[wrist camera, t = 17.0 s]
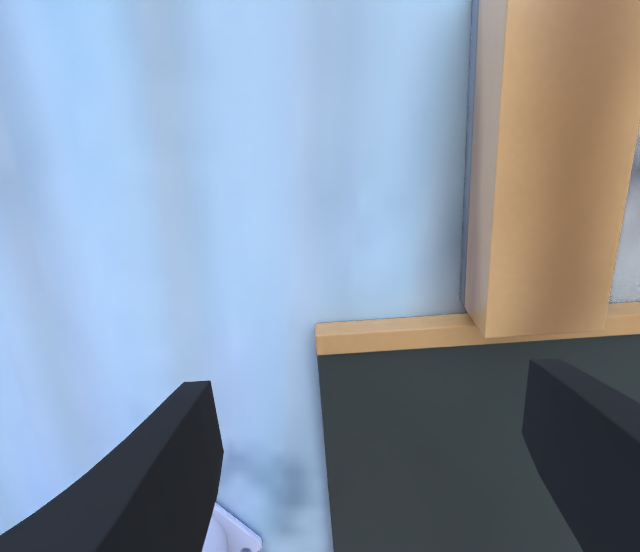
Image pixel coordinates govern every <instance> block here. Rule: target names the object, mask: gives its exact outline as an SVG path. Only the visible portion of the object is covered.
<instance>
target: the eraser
mask: <svg viewBox="0 0 640 552" xmlns="http://www.w3.org/2000/svg"><path fill="white" fill-rule="evenodd" d="M639 124H640V0H472V22H471V45H470V68H469V91H468V114H467V138H466V161H465V184H464V207H463V231H462V254H461V277H460V301H461V302H462V304H463V305H464V306H465V309H466V311H467V312H468V314H469V315H470V317H471V318H472V320H473V321H474V323H475V324H476V326H477V327H478V329H479V330H480V332H481V333H482V335H483V336H484V338H500V337H515V336H531V335H546V334H561V333H576V332H591V331H603V330H604V327H605V321H606V316H607V310H608V304H609V298H610V292H611V287H612V281H613V275H614V269H615V263H616V258H617V252H618V246H619V240H620V234H621V229H622V223H623V217H624V211H625V205H626V200H627V194H628V188H629V182H630V176H631V171H632V165H633V159H634V153H635V147H636V141H637V136H638V130H639Z"/></svg>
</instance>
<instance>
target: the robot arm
mask: <svg viewBox="0 0 640 552" xmlns="http://www.w3.org/2000/svg"><path fill="white" fill-rule="evenodd" d="M522 435H523V438H524V440H525V443H526V445H527V448H528V450H529V453H530V455H531V458H532V460H533V462H534V464H535V467H536V469H537V471H538V474H539V476H540V477H541V479H542V481H543V483H544V485H545V486H546V488H547V490H548V492H549V493H550V495H551V497H552V499H553V500H554V502H555V504H556V506H557V507H558V509H559V511H560V512H561V514H562V516H563V518H564V519H565V521H566V523H567V524H568V526H569V528H570V529H571V531H572V533H573V535H574V536H575V538H576V540H577V541H578V543H579V545H580V547H581V548H582V550H583V552H640V403H639V402H637V401H635V400H633V399H632V398H630V397H628V396H626V395H625V394H623V393H621V392H619V391H617V390H616V389H614V388H612V387H610V386H609V385H607V384H605V383H603V382H602V381H600V380H598V379H596V378H594V377H593V376H591V375H589V374H587V373H586V372H584V371H582V370H580V369H578V368H577V367H575V366H573V365H571V364H569V363H567V362H565V361H563V360H561V359H559V358H545V359H530V360H529V369H528V379H527V388H526V397H525V406H524V416H523V425H522ZM223 453H224V451H223V446H222V440H221V435H220V430H219V424H218V419H217V414H216V408H215V403H214V397H213V392H212V387H211V381H196V382H184V383H183V384H181V385H180V386H179V387H178V388H177V389H176V390H175V391H174V392H173V393H172V394H171V395H170V396H169V397H168V398H167V399H166V400H165V401H164V402H163V403H162V404H161V405H160V406H159V407H158V408H157V409H156V410H155V411H154V412H153V413H152V414H151V415H150V416H149V417H148V418H147V419H146V420H144V421H143V422H142V423H141V424H140V425H139V426H138V427H137V428H136V429H135V430H134V431H133V432H132V433H131V434H130V435H129V436H128V437H127V438H126V439H125V440H124V441H122V442H121V443H120V444H119V445H118V446H117V447H116V448H114V449H113V450H112V451H111V452H110V453H109V454H108V455H106V456H105V457H104V458H103V459H102V460H101V461H100V462H98V463H97V464H96V465H95V466H94V467H93V468H92V469H90V470H89V471H88V472H87V473H86V474H85V475H83V476H82V477H81V478H80V479H78V480H77V481H76V482H75V483H73V484H72V485H71V486H70V487H68V488H67V489H66V490H65V491H63V492H62V493H60V494H59V495H58V496H56V497H55V498H54V499H52V500H51V501H50V502H48V503H47V504H46V505H44V506H43V507H42V508H40V509H39V510H38V511H36V512H35V513H33V514H32V515H30V516H29V517H28V518H26V519H25V520H23V521H21V522H20V523H18V524H17V525H15V526H14V527H12V528H11V529H9V530H8V531H6V532H5V533H3V534H2V535H0V552H258V551H260V550H261V547H262V539H261V538H260V537H259V536H258V535H257V534H255V533H254V532H253V531H252V530H250V529H249V528H248V527H246V526H245V525H244V524H243V523H241V522H240V521H239V520H237V519H236V518H235V517H234V516H232V515H231V514H230V513H228V512H227V511H226V510H225V509H223V508H222V507H221V506H220V505H218V504H217V503H216V498H217V494H218V487H219V481H220V475H221V467H222V460H223Z"/></svg>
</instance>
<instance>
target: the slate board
mask: <svg viewBox="0 0 640 552" xmlns="http://www.w3.org/2000/svg"><path fill="white" fill-rule="evenodd" d="M315 341H316V352H317V360H318V371H319V383H320V395H321V407H322V419H323V430H324V442H325V454H326V466H327V477H328V489H329V501H330V513H331V525H332V536H333V548H334V552H583V550H582V548H581V547H580V545H579V543H578V541H577V540H576V538H575V536H574V535H573V533H572V531H571V529H570V528H569V526H568V524H567V523H566V521H565V519H564V518H563V516H562V514H561V512H560V511H559V509H558V507H557V506H556V504H555V502H554V500H553V499H552V497H551V495H550V493H549V492H548V490H547V488H546V486H545V485H544V483H543V481H542V479H541V477H540V476H539V474H538V471H537V469H536V467H535V464H534V462H533V460H532V458H531V455H530V453H529V450H528V448H527V445H526V443H525V440H524V438H523V435H522V425H523V416H524V406H525V397H526V388H527V379H528V369H529V360H530V359H545V358H559V359H561V360H563V361H565V362H567V363H569V364H571V365H573V366H575V367H577V368H578V369H580V370H582V371H584V372H586V373H587V374H589V375H591V376H593V377H594V378H596V379H598V380H600V381H602V382H603V383H605V384H607V385H609V386H610V387H612V388H614V389H616V390H617V391H619V392H621V393H623V394H625V395H626V396H628V397H630V398H632V399H633V400H635V401H637V402H639V403H640V301H639V302H625V303H610V304H608V310H607V316H606V321H605V327H604V330H603V331H591V332H576V333H561V334H546V335H531V336H515V337H500V338H484V336H483V335H482V333H481V332H480V330H479V329H478V327H477V326H476V324H475V323H474V321H473V320H472V318H471V317H470V315H469V314H468V313H462V314H447V315H433V316H418V317H403V318H388V319H374V320H359V321H344V322H329V323H316V324H315Z"/></svg>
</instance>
